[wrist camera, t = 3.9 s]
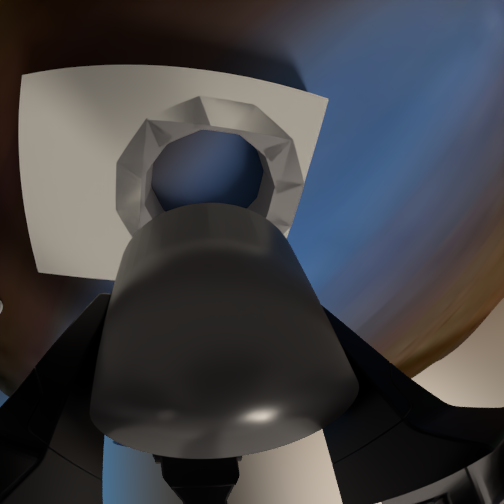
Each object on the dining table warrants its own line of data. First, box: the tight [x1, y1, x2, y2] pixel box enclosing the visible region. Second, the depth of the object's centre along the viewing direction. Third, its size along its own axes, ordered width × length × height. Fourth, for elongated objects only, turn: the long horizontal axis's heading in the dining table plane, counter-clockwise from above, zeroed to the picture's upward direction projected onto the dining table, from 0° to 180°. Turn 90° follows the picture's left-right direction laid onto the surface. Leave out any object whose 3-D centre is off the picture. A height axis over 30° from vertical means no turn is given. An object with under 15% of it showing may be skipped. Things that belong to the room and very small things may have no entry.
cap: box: [89, 203, 359, 459], centre depth 7 cm, size 6×6×5 cm
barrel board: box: [19, 65, 329, 280], centre depth 16 cm, size 14×18×3 cm
